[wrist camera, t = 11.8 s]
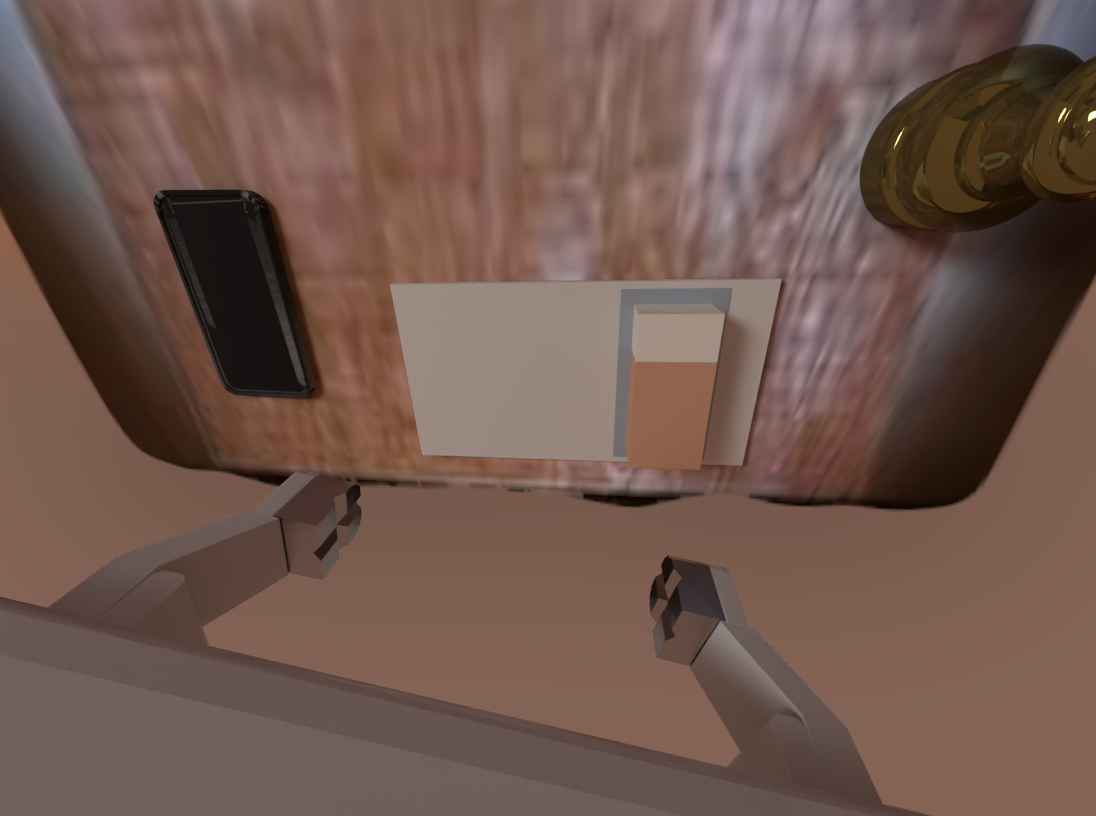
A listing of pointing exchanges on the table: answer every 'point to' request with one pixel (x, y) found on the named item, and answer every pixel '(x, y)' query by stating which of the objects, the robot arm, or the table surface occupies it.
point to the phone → (238, 289)
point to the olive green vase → (986, 143)
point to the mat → (564, 363)
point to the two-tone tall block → (671, 383)
